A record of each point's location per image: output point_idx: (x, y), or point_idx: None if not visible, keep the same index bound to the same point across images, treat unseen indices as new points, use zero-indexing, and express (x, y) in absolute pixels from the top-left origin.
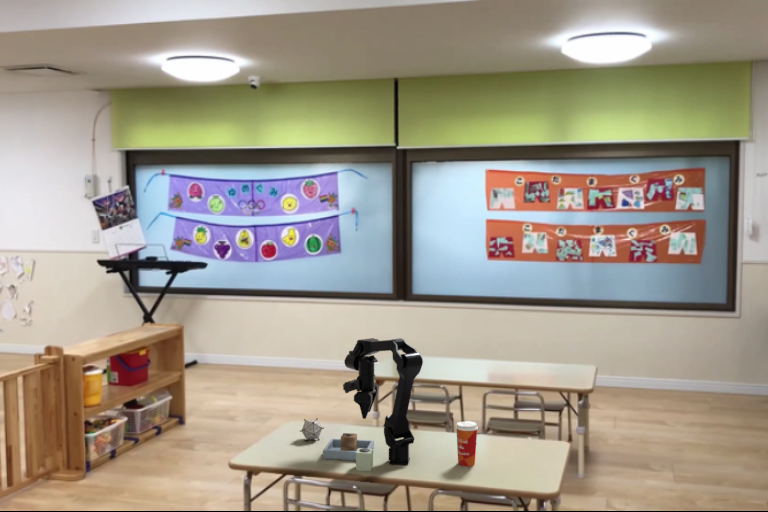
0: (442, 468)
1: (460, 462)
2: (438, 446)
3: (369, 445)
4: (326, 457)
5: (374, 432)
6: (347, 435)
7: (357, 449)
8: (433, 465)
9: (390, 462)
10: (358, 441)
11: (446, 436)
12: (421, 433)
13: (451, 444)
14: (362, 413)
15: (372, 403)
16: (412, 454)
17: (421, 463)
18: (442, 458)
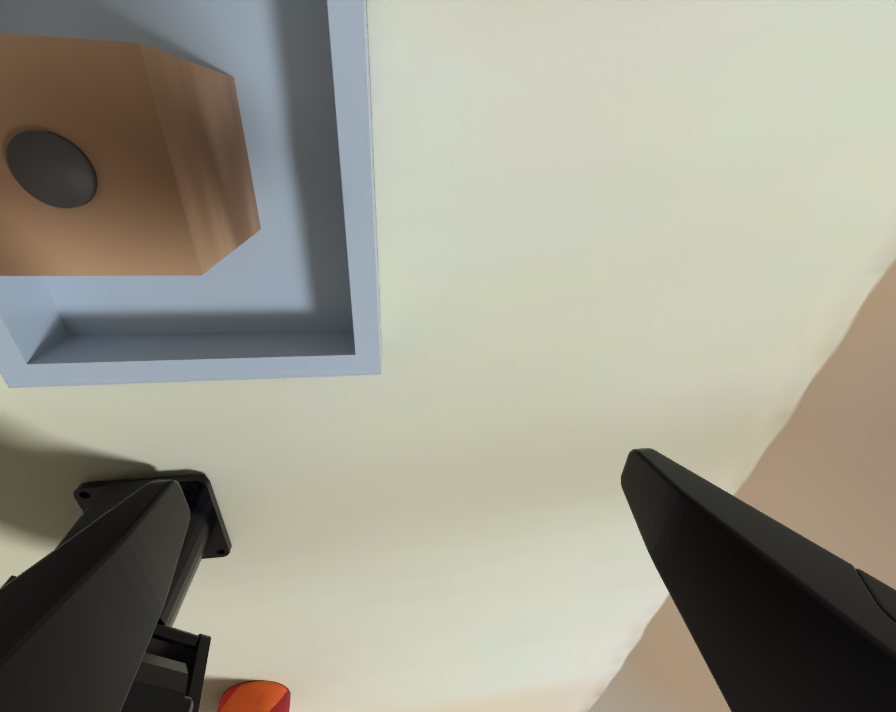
0: None
1: (220, 706)
2: (470, 599)
3: (227, 364)
4: None
5: (762, 282)
6: (8, 150)
7: (279, 230)
8: None
9: (77, 494)
10: (347, 239)
11: (614, 597)
12: None
13: (501, 626)
14: (30, 592)
15: (712, 668)
16: (321, 541)
17: (187, 594)
18: (299, 636)
